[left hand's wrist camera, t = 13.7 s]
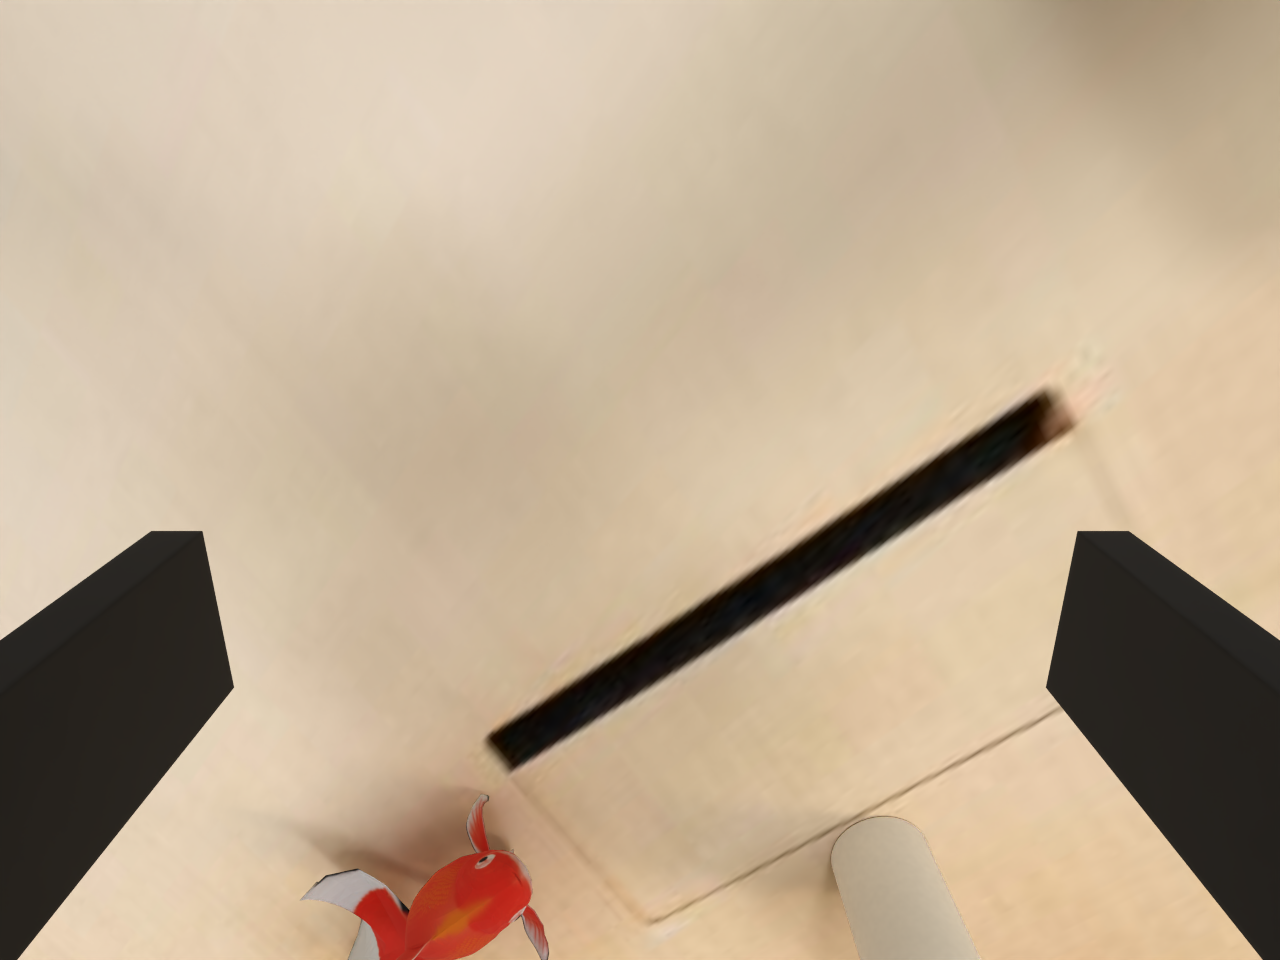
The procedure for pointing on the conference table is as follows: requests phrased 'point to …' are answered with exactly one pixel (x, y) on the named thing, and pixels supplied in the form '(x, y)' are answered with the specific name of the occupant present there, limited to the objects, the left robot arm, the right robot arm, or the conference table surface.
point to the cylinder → (897, 894)
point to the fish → (440, 905)
